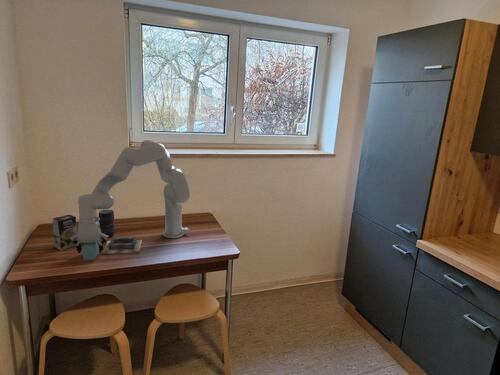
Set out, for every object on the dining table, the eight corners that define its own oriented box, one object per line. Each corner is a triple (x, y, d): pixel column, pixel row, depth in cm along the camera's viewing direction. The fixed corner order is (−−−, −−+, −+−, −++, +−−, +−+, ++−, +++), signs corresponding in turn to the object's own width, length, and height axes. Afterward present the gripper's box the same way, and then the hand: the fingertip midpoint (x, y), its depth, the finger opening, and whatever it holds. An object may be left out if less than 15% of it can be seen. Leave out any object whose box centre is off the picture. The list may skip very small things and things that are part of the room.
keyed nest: (142, 241, 186) (142, 235, 185) (139, 252, 172) (139, 246, 172) (108, 242, 182) (107, 236, 181) (102, 253, 169) (102, 247, 168)
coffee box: (61, 250, 169) (58, 221, 165) (54, 247, 173) (51, 218, 169) (78, 244, 177) (76, 216, 173) (71, 241, 180) (69, 213, 176)
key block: (98, 252, 170) (97, 239, 168) (94, 259, 163) (93, 246, 161) (87, 252, 169) (86, 240, 167) (83, 260, 161) (82, 247, 160)
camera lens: (117, 234, 194) (116, 209, 190) (110, 239, 186) (109, 214, 182) (104, 232, 194) (103, 208, 190) (97, 238, 186) (95, 213, 183)
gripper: (108, 217, 166) (110, 248, 170) (71, 217, 162) (73, 249, 167) (105, 222, 159) (107, 254, 163) (66, 222, 155) (69, 256, 160)
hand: (90, 252), depth 165 cm, fingers open, 9 cm apart
